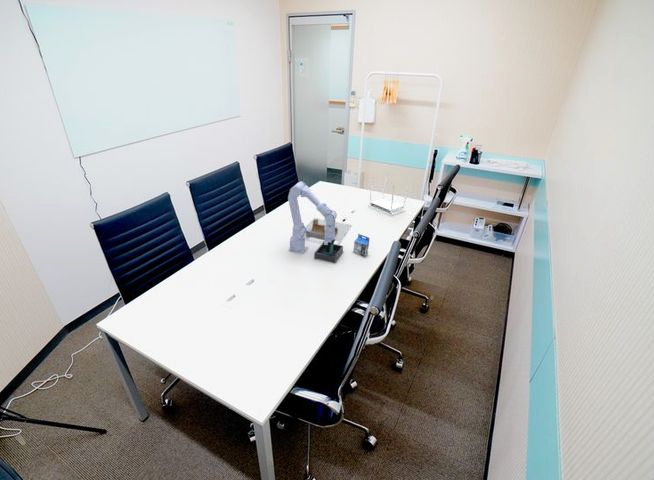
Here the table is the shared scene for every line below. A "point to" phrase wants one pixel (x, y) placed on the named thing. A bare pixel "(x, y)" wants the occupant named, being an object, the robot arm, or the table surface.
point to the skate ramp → (319, 227)
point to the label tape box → (361, 245)
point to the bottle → (330, 250)
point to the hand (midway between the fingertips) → (329, 250)
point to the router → (387, 203)
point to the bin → (331, 258)
